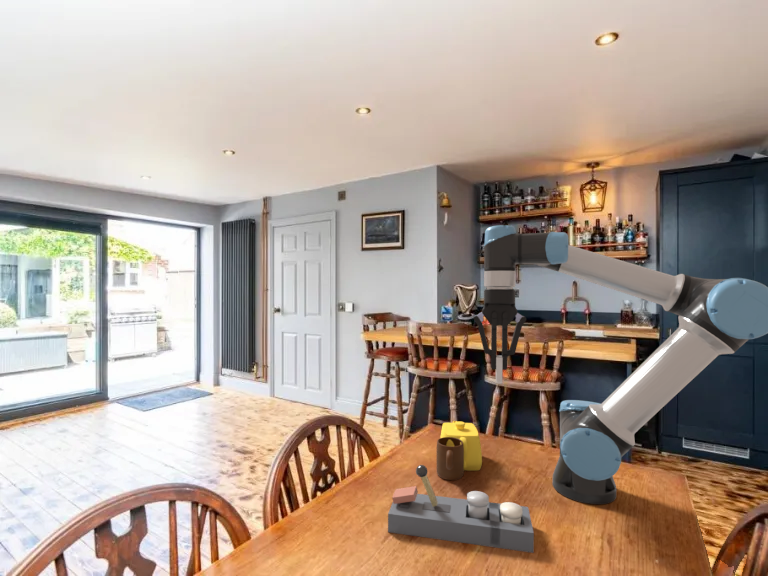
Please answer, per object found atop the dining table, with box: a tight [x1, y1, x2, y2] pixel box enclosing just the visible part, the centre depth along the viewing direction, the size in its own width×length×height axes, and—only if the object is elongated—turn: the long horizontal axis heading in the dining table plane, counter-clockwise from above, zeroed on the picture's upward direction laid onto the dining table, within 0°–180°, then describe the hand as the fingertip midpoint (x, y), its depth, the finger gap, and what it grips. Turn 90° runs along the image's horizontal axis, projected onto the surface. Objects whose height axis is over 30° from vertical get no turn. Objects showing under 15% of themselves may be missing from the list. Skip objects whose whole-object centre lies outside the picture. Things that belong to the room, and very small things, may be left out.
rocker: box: [392, 485, 419, 504], centre depth 94 cm, size 5×4×1 cm
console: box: [387, 493, 535, 554], centre depth 91 cm, size 30×10×5 cm, turn 77°
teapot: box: [439, 420, 483, 472], centre depth 127 cm, size 20×12×12 cm, turn 177°
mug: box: [436, 437, 465, 481], centre depth 115 cm, size 12×8×9 cm, turn 169°
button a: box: [500, 501, 522, 524], centre depth 89 cm, size 5×5×5 cm
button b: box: [466, 490, 490, 520], centre depth 90 cm, size 5×5×5 cm
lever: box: [415, 464, 438, 507], centre depth 93 cm, size 3×3×9 cm
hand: (499, 382), depth 103 cm, fingers closed
